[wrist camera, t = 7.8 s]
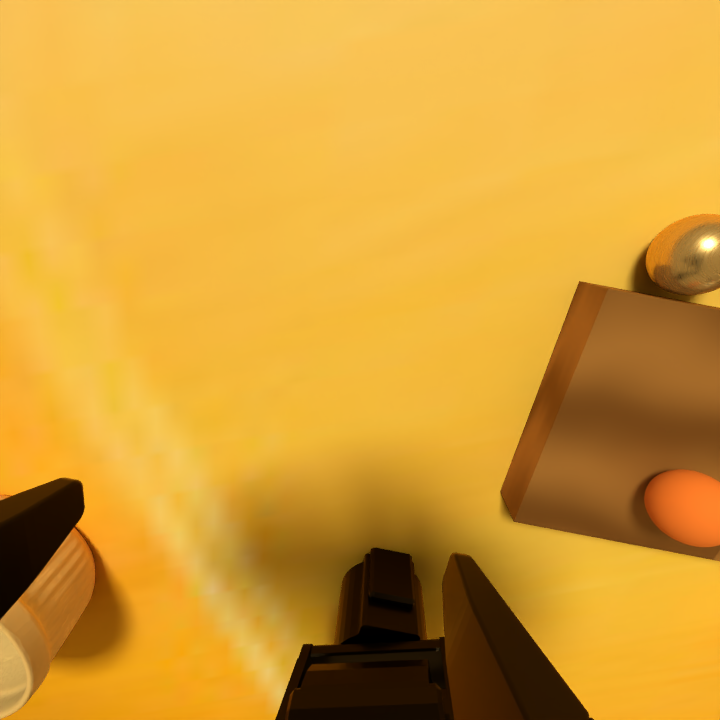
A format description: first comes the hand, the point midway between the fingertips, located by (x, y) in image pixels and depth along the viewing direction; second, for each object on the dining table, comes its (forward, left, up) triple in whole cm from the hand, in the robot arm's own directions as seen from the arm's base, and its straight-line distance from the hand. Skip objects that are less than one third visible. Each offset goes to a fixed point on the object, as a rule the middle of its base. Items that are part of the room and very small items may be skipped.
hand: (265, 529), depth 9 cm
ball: (-2, -18, -8) cm, 20 cm away
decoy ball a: (+9, -15, -11) cm, 20 cm away
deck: (0, -21, -12) cm, 24 cm away
